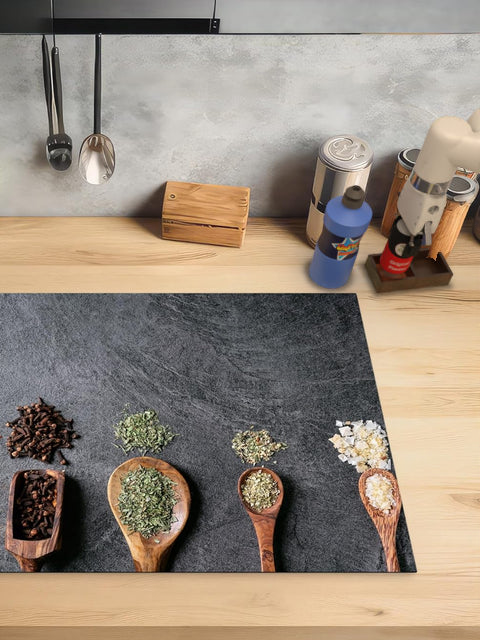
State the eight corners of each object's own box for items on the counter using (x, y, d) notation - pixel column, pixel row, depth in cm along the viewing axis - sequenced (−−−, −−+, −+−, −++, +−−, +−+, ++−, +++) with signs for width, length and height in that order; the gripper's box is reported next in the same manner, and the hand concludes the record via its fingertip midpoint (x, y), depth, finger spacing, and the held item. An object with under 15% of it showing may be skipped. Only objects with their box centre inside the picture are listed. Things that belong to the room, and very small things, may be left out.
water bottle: (356, 285, 164) (388, 200, 144) (316, 292, 163) (343, 207, 143) (340, 255, 170) (369, 169, 149) (302, 262, 169) (325, 176, 148)
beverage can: (372, 263, 163) (387, 223, 154) (392, 251, 165) (408, 212, 156) (393, 280, 160) (410, 241, 150) (413, 268, 162) (431, 229, 152)
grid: (433, 257, 169) (438, 246, 166) (447, 285, 164) (453, 274, 161) (364, 265, 168) (368, 254, 165) (376, 293, 163) (381, 282, 160)
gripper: (467, 206, 138) (435, 271, 152) (432, 148, 148) (404, 214, 163) (429, 210, 137) (400, 275, 152) (396, 151, 147) (372, 218, 162)
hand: (402, 243), depth 157 cm, fingers closed on beverage can, 6 cm apart
